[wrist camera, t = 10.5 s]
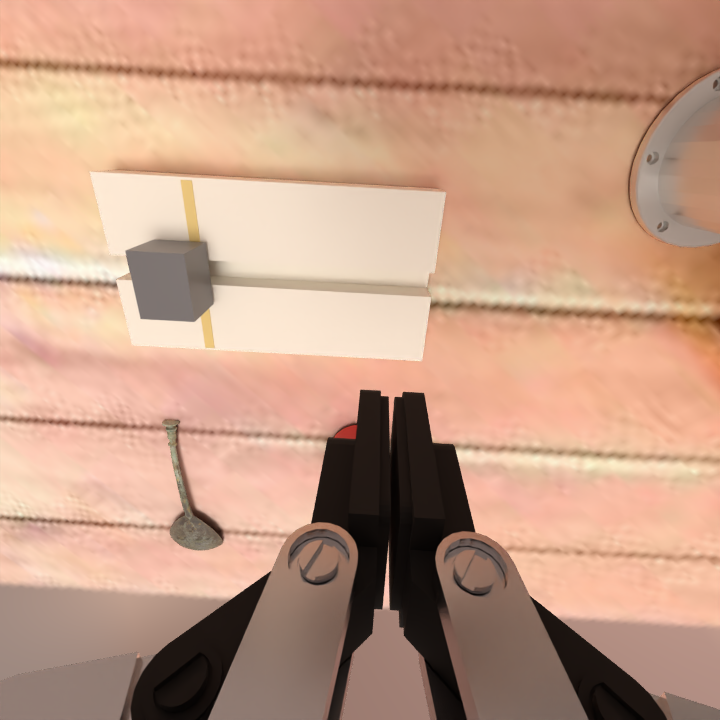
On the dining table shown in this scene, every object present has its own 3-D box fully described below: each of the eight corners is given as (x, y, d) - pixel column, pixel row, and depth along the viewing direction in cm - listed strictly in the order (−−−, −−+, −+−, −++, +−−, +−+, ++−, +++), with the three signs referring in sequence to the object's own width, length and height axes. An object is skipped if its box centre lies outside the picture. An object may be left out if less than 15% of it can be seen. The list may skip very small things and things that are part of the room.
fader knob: (216, 236, 32) (183, 253, 26) (223, 294, 35) (194, 322, 29) (168, 233, 32) (125, 250, 26) (178, 291, 35) (140, 318, 29)
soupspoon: (181, 540, 54) (229, 541, 54) (172, 563, 51) (222, 564, 51) (144, 415, 43) (204, 416, 43) (129, 435, 40) (194, 436, 40)
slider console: (438, 188, 32) (446, 192, 28) (417, 344, 38) (422, 361, 35) (117, 169, 31) (88, 171, 28) (151, 329, 38) (131, 345, 35)
